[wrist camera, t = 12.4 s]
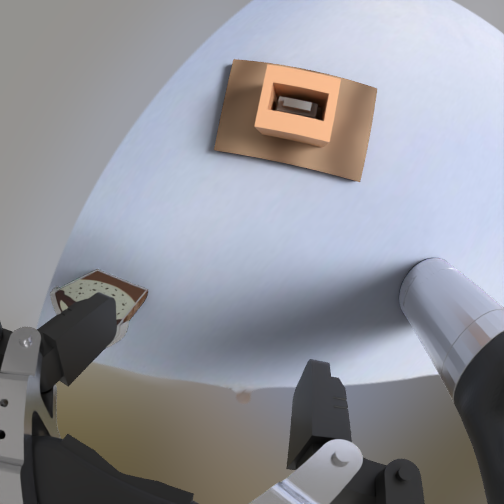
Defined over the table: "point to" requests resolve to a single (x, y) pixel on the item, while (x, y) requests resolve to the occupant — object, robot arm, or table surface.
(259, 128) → the orange open box
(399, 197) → the table surface
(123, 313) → the food container
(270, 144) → the base board
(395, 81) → the table surface
